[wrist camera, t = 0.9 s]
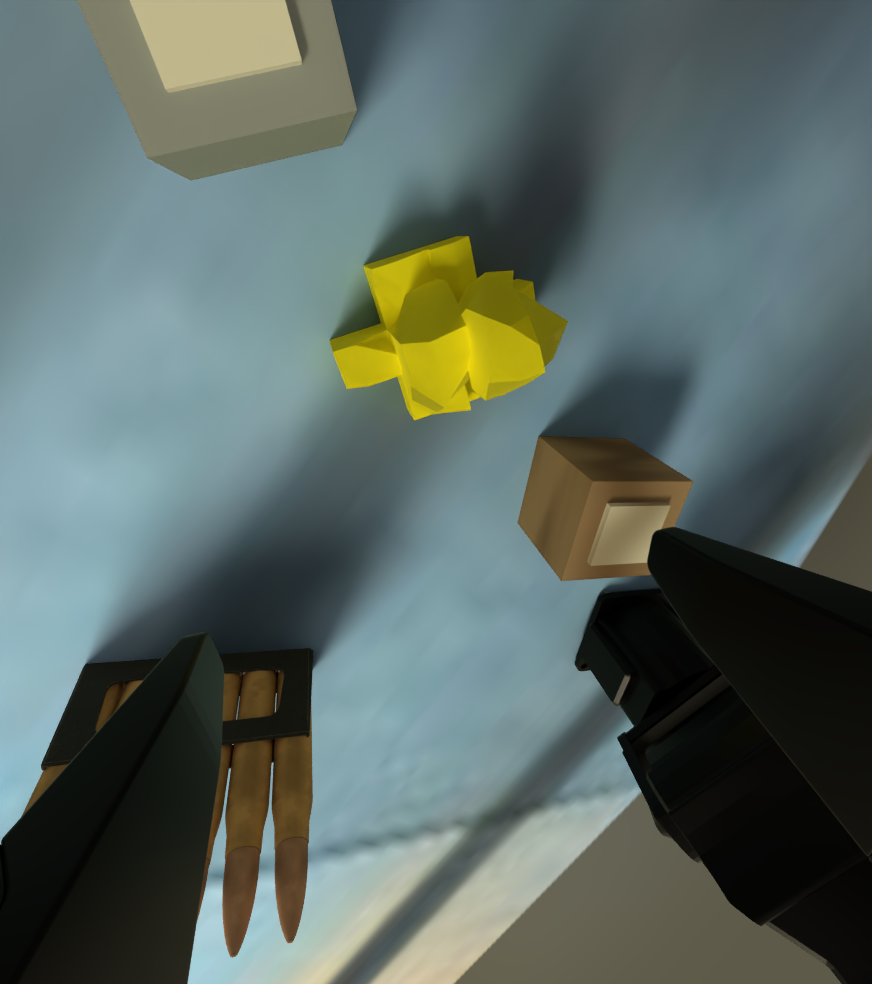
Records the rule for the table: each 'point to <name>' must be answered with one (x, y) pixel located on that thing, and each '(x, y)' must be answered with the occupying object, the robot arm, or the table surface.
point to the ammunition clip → (249, 758)
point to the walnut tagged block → (598, 505)
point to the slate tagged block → (226, 78)
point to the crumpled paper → (448, 330)
